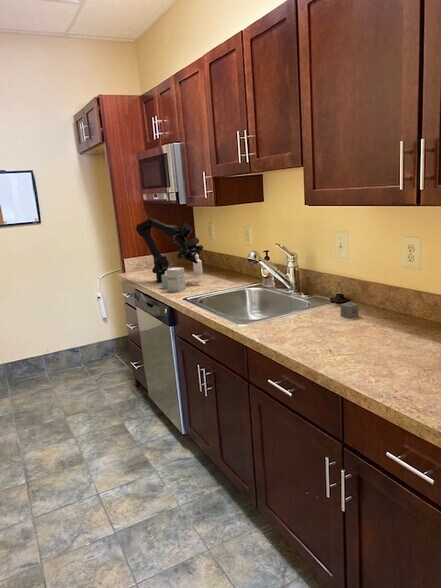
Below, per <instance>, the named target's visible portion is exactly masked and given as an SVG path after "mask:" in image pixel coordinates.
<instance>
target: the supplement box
mask: <svg viewBox="0 0 441 588" xmlns="http://www.w3.org/2000/svg"><path fill="white" fill-rule="evenodd" d="M166 274H167V280H168V289H167V290H168V292H174V293H175V292H176V293H177V292H178V293H180V292H182V291H186V289H187V287H186V277H185V276H186V275H185V267H170V268H168V269H167V271H166Z"/></svg>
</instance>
